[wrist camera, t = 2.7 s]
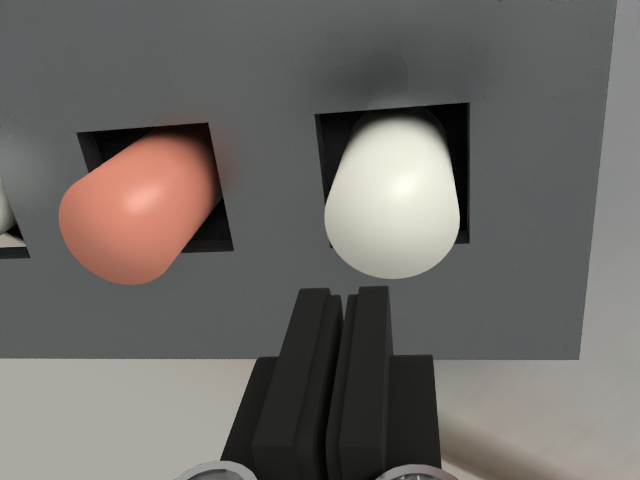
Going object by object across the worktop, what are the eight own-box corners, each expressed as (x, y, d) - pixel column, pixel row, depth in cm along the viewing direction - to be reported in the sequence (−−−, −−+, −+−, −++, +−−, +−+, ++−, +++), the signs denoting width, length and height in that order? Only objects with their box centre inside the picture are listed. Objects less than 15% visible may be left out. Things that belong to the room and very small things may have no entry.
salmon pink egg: (224, 114, 21) (159, 171, 16) (241, 204, 23) (187, 283, 17) (133, 121, 22) (41, 178, 16) (156, 209, 23) (79, 286, 18)
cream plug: (447, 96, 20) (459, 152, 14) (448, 194, 21) (460, 277, 16) (342, 105, 20) (317, 161, 15) (351, 199, 22) (331, 280, 16)
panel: (568, -90, 19) (627, -105, 14) (544, 273, 25) (578, 359, 20) (-133, 3, 24) (-287, 18, 19) (-12, 286, 30) (-102, 358, 25)
